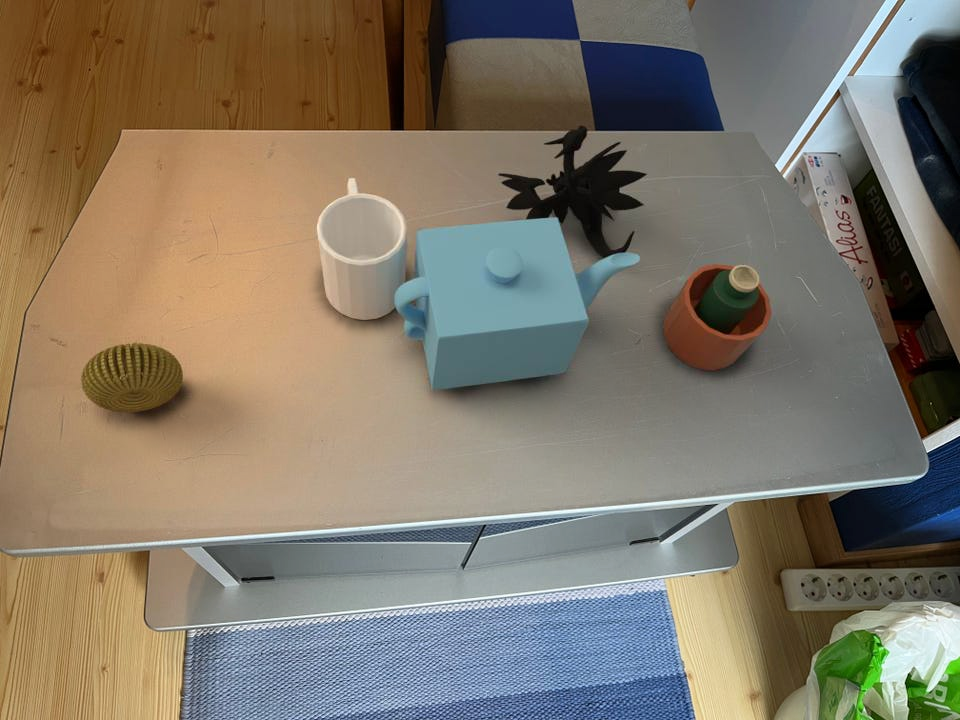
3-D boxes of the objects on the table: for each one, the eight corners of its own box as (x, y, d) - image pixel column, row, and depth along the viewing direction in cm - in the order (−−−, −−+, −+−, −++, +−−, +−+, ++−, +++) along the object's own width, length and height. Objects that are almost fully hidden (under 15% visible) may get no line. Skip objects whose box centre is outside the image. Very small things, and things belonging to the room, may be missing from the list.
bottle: (733, 333, 78) (777, 280, 69) (707, 356, 76) (749, 305, 67) (701, 305, 79) (741, 249, 70) (675, 327, 77) (712, 273, 68)
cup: (758, 339, 78) (787, 307, 73) (708, 385, 75) (735, 355, 69) (697, 285, 81) (721, 250, 75) (646, 328, 78) (667, 294, 72)
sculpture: (189, 369, 70) (167, 326, 63) (194, 407, 68) (172, 367, 61) (98, 387, 68) (64, 345, 61) (101, 427, 66) (67, 389, 59)
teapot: (402, 402, 71) (405, 330, 58) (385, 303, 75) (385, 217, 63) (619, 372, 75) (664, 299, 63) (590, 280, 80) (627, 196, 67)
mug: (391, 220, 80) (391, 156, 72) (411, 314, 75) (414, 257, 66) (315, 229, 79) (306, 164, 70) (330, 325, 74) (323, 268, 65)
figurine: (535, 270, 87) (488, 261, 77) (530, 162, 87) (482, 140, 77) (671, 255, 79) (637, 244, 69) (665, 136, 79) (631, 108, 69)
